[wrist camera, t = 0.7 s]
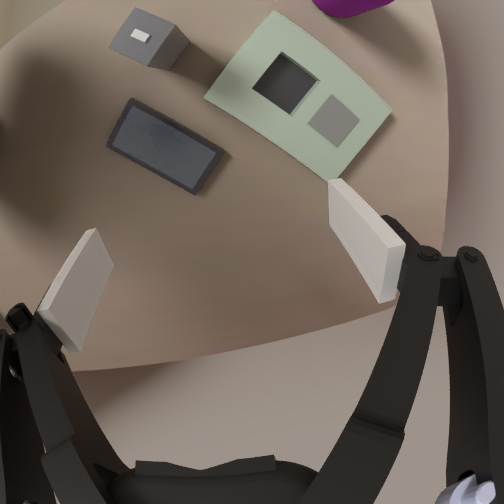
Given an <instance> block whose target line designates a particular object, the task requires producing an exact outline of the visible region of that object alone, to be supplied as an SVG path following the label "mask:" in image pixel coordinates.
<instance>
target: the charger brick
mask: <svg viewBox="0 0 504 504" xmlns="http://www.w3.org/2000/svg"><path fill="white" fill-rule="evenodd" d="M189 42H190V41H189V40H188V39H187V37H186V36H185V35H184V34H183V33H182V32H181V30H180V29H179V28H178V27H177V26H176V25H175V24H173V23H171V22H169V21H167V20H164V19H162V18H160V17H158V16H155V15H153V14H151V13H148V12H146V11H144V10H141V9H139V8H136V7H135V8H134V10H133V11H132V12H131V14H130V15H129V16H128V18H127V19H126V21H125V22H124V24H123V25H122V27H121V28H120V29H119V31H118V33H117V34H116V36H115V37H114V39H113V40H112V42H111V43H110V45H109V47H108V48H109V49H111V50H113V51H116V52H118V53H120V54H122V55H124V56H127V57H129V58H131V59H133V60H135V61H137V62H139V63H141V64H143V65H145V66H148V67H154V68H159V69H164V70H170V69H171V67H172V66H173V64H174V63H175V61H176V60H177V59H178V57H179V56H180V54H181V53H182V52H183V50H184V49H185V47H186V46H187V45H188V43H189Z"/></svg>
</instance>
